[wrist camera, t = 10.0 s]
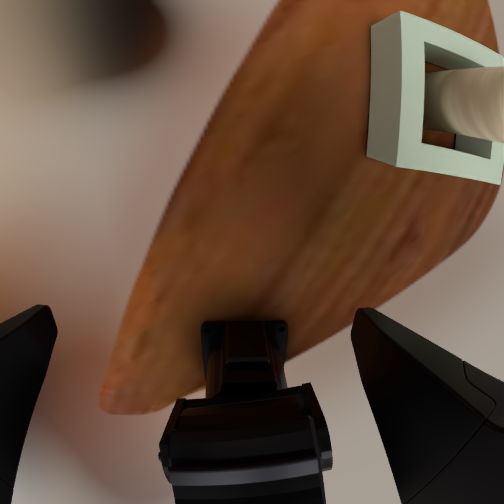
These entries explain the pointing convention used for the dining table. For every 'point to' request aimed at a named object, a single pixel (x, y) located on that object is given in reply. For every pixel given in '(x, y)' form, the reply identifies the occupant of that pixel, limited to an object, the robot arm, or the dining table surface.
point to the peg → (466, 102)
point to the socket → (412, 98)
